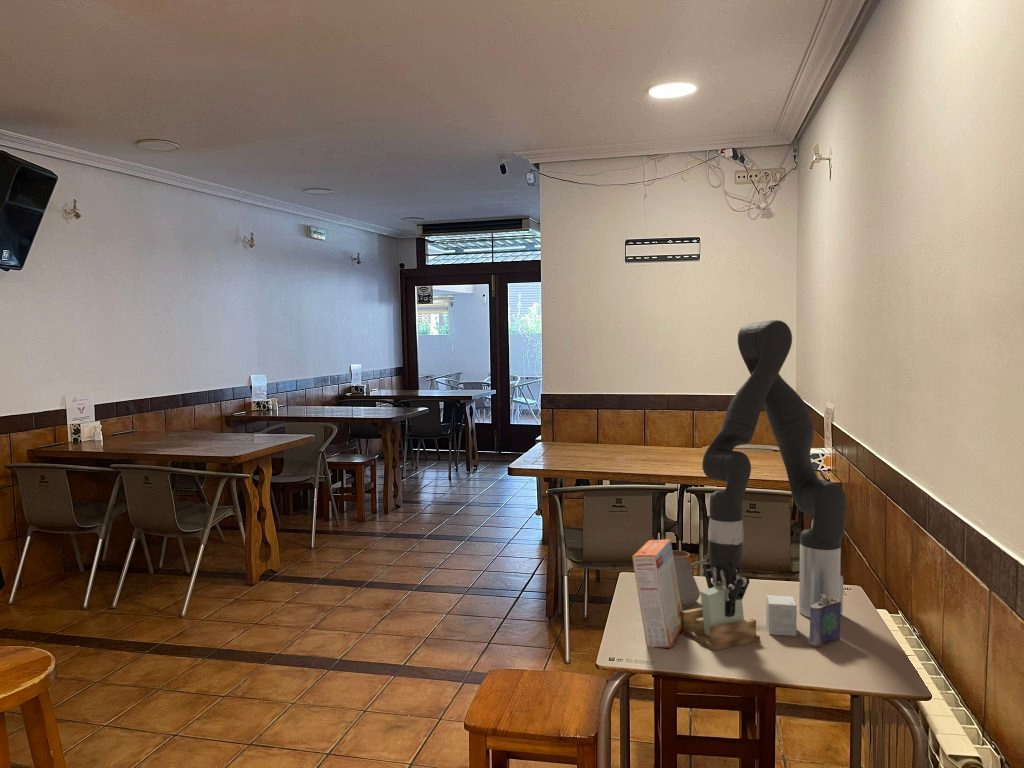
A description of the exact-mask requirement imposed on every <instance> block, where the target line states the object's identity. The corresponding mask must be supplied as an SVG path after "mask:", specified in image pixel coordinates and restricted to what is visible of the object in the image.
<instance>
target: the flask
mask: <svg viewBox="0 0 1024 768" xmlns="http://www.w3.org/2000/svg"><path fill="white" fill-rule="evenodd" d="M820 595H821V596H822V595H823V596H822V598H821V601H820V602H818V603H815V604H813V605H811V606H810V618H809V646H810V647H813V648H815V649H817V648H823V646H827V645H830V643H831V644H833V643H835V642H834V641H836V642H839V640H840V639H841V638H840V637H841V635H840V634H841V615H840V613H841V601H840V600H837V599H833V598H830V599H827V598H828V597H827V596H826V595H824V594H820ZM820 595H819V596H820Z"/></svg>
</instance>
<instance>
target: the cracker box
mask: <svg viewBox="0 0 1024 768" xmlns="http://www.w3.org/2000/svg"><path fill="white" fill-rule="evenodd" d="M672 546H673V545H672V540H671V539H649V540H647V542H645V543H644V545H642V546H641V547H640V548H639V549H638V550H637V551H636V552H635V553H634V554H633V555H632V557H631V558H632V565H633V572H634V577H635V583H636V590H637V596H638V601H639V608H640V613H641V620H642V628H643V632H644V640H645V645H649V646H648V647H650V646H654V647H653V648H657V647H661V649H662V648H663V649H664V648H665V649H668V648H669V649H671V648H672V647H673V644H674V643H675V641H676V639H677V638H678V636H679V635H680V633H681V628H682V621H681V611H683V610H682V609H683V608H681V602H680V596H679V589H678V583H677V577H676V570H675V564H674V558H673V551H672V550H673V547H672Z"/></svg>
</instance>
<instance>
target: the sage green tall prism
mask: <svg viewBox="0 0 1024 768" xmlns="http://www.w3.org/2000/svg"><path fill="white" fill-rule="evenodd" d="M730 585H732V584H730ZM730 585H728V586H730ZM699 591H700V590H699ZM731 594H732V590H730V595H731ZM700 600H701V607H702V612H703V622H704V633H705V634H706V635H708V636H709V637H710V627H713V626H718V625H723V624H728V623H733V622H738V621H743V620H745V617H744V607H743V599H741V600H736V601H735V614H734V616H732V617H727V616H725V600H726V599H725V590H723V588H722V585H720V586H716V587H713V588H706V589H703V590H701V591H700Z"/></svg>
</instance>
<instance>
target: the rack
mask: <svg viewBox="0 0 1024 768" xmlns="http://www.w3.org/2000/svg"><path fill="white" fill-rule="evenodd" d="M681 621H682V628H681V631H680V633H682V632H683V633H682V634H684V635H686V636H687V637H689V638H691V639H692V638H693V640H695V641H696V642H697V641H698V642H697V643H699V644H701V645H703V646H704V647H706V648H707V649H709V650H710V651H718V650H723V649H728V648H732V647H733V648H734V647H737V646H741V645H747V644H750V643H755V642H760V641H761V636H760V635H758V634H757V620H756V619H755V618H748V619H744V620H743V621H738V622H733V623H728V624H723V625H718V626H713V627H710V637H709V636H708V635H706V634H705V633H704V622H703V612H702V606H701V607H697V608H691V609H687V610H682V611H681Z"/></svg>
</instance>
